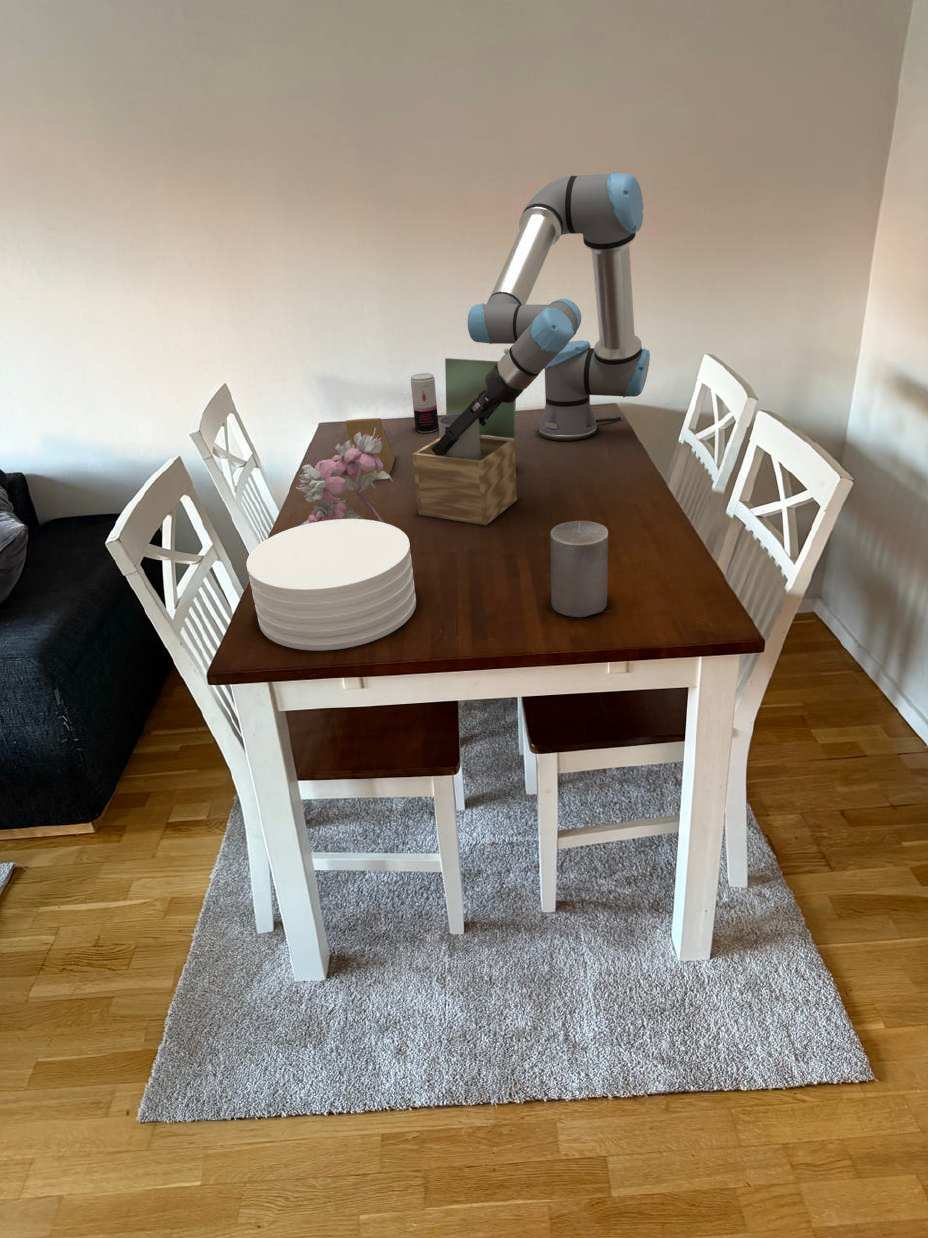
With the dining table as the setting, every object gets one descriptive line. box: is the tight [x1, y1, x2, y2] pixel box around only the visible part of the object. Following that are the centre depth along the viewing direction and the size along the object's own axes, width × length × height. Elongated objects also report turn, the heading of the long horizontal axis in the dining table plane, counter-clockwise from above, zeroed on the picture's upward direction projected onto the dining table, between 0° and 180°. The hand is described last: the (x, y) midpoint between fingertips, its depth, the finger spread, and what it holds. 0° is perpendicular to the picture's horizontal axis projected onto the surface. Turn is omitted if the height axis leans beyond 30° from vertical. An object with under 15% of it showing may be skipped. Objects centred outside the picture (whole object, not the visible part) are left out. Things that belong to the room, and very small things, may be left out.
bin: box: [412, 435, 518, 526], centre depth 189 cm, size 15×17×14 cm
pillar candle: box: [549, 520, 609, 618], centre depth 147 cm, size 10×10×15 cm
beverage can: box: [410, 372, 439, 434], centre depth 240 cm, size 7×7×15 cm
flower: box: [295, 428, 394, 526], centre depth 176 cm, size 20×22×25 cm
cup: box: [438, 413, 481, 461], centre depth 184 cm, size 8×8×10 cm
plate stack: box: [246, 518, 417, 652], centre depth 152 cm, size 28×28×12 cm
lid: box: [444, 357, 517, 439], centre depth 187 cm, size 16×17×1 cm
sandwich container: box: [345, 417, 396, 476], centre depth 215 cm, size 9×15×15 cm, turn 177°
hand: (447, 446), depth 186 cm, fingers closed on cup, 8 cm apart
